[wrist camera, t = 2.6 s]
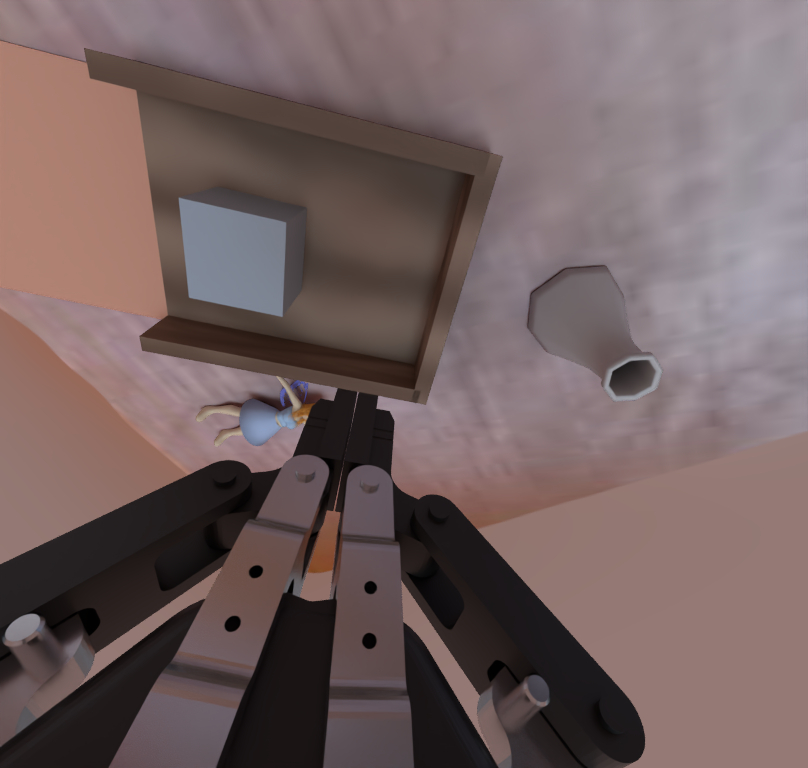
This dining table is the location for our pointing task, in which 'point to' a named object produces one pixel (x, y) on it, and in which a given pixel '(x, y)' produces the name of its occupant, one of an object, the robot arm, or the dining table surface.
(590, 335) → the flask
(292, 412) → the fairy figurine
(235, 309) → the walnut cubby
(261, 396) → the dining table surface
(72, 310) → the dining table surface
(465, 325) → the dining table surface
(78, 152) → the terracotta mat
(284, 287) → the slate block
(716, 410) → the dining table surface
